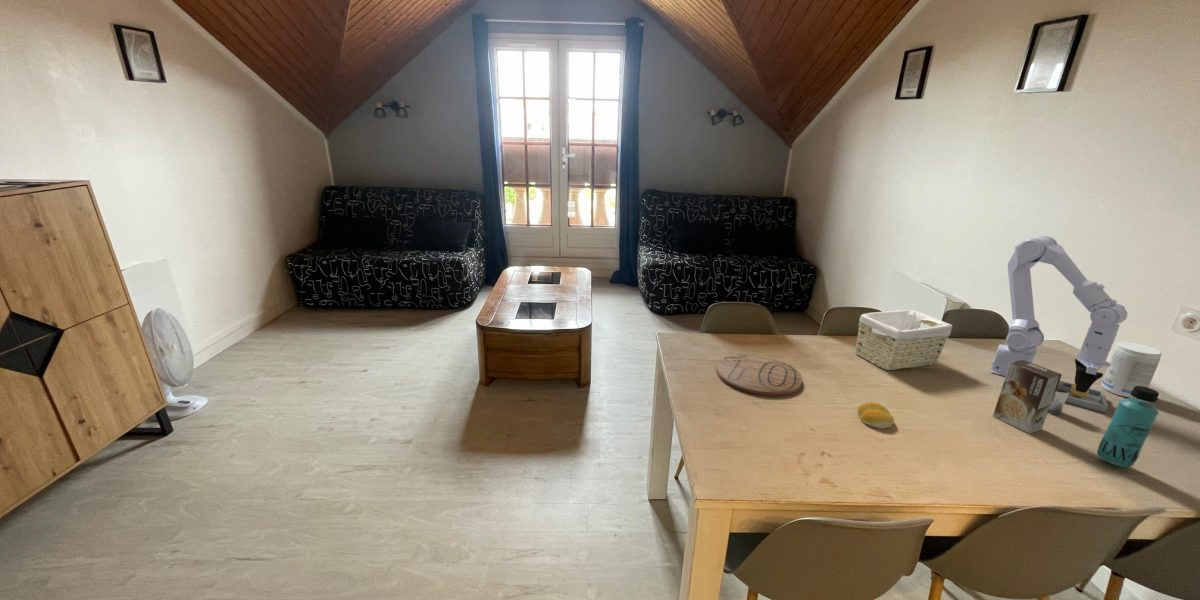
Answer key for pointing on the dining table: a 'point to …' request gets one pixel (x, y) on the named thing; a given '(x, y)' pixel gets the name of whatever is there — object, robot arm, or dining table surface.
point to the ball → (1078, 392)
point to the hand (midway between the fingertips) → (1079, 387)
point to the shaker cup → (1059, 398)
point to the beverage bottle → (1129, 427)
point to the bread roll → (875, 415)
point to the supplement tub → (1130, 368)
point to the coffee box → (1026, 395)
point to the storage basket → (901, 339)
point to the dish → (1089, 400)
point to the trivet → (759, 375)
